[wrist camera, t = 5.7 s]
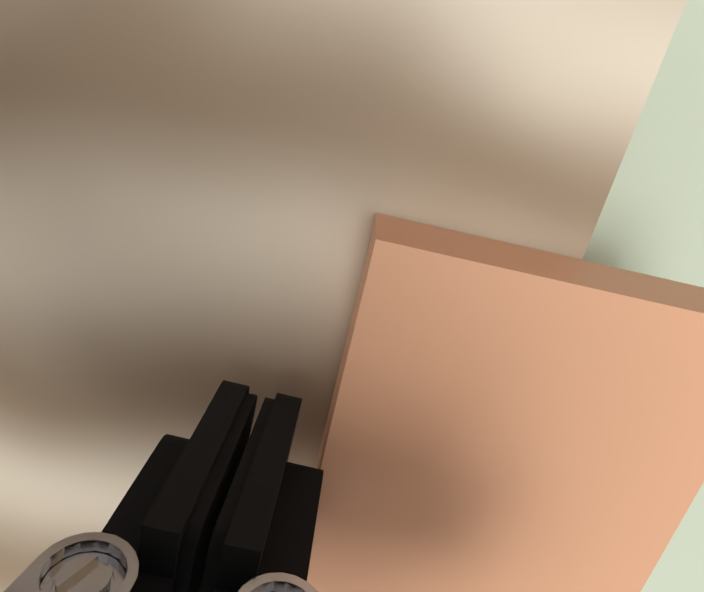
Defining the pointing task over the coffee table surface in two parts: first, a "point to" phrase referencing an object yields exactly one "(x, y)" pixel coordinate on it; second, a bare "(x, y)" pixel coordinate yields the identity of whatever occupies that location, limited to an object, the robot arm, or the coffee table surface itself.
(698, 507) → the mat
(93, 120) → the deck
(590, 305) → the tile
